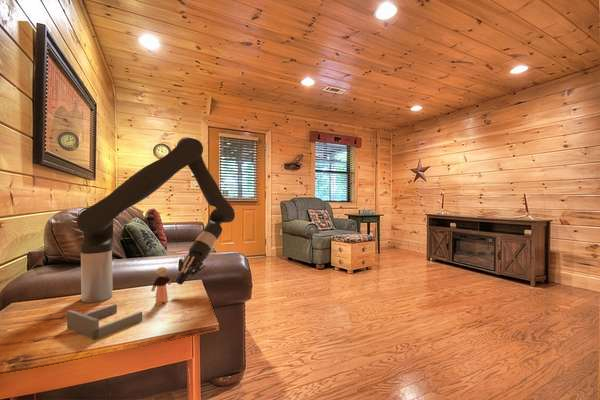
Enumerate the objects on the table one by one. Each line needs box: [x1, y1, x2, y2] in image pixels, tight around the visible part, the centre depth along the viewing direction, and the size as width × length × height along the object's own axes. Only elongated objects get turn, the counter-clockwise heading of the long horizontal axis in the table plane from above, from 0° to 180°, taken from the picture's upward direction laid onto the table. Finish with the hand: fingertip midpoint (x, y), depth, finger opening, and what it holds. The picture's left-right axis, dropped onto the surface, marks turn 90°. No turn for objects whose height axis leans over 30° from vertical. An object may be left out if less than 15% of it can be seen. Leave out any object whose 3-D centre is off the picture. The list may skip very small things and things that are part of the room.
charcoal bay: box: [66, 303, 143, 341], centre depth 83 cm, size 14×13×5 cm
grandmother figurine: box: [150, 266, 172, 307], centre depth 99 cm, size 8×4×13 cm, turn 168°
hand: (178, 283), depth 105 cm, fingers closed
